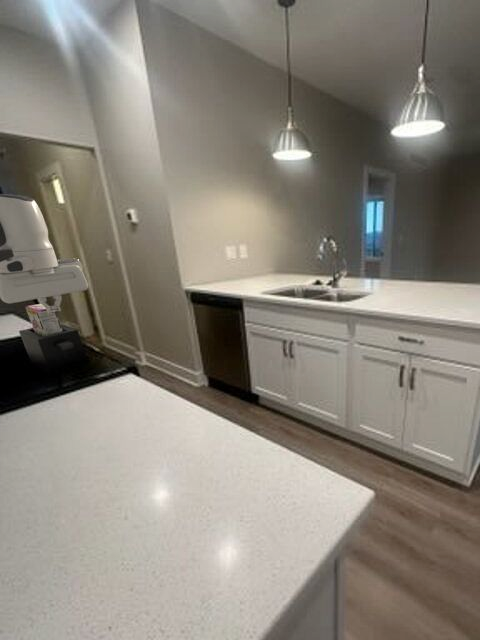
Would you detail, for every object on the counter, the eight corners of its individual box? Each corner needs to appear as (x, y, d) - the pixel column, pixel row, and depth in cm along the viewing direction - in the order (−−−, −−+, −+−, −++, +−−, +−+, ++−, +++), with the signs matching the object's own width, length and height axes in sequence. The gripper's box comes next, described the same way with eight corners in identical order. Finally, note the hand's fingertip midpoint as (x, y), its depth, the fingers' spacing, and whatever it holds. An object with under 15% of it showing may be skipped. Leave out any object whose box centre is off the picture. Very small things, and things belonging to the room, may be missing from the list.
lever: (62, 350, 98) (61, 346, 98) (57, 347, 101) (55, 344, 100) (73, 347, 101) (72, 343, 100) (68, 344, 103) (66, 341, 103)
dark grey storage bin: (50, 375, 101) (37, 339, 97) (31, 363, 111) (18, 330, 107) (88, 363, 109) (77, 329, 104) (66, 353, 119) (56, 322, 114)
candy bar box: (42, 356, 111) (24, 306, 104) (59, 351, 114) (43, 303, 108) (54, 363, 104) (35, 310, 98) (72, 358, 107) (55, 307, 101)
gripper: (74, 256, 100) (88, 303, 106) (-14, 266, 86) (7, 319, 91) (84, 257, 97) (97, 305, 102) (-8, 267, 82) (14, 323, 87)
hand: (54, 312), depth 96 cm, fingers closed
